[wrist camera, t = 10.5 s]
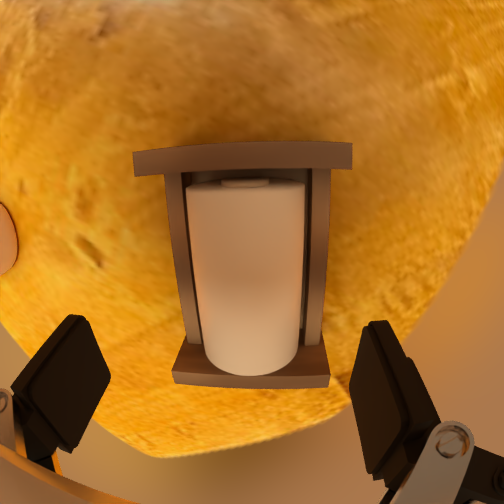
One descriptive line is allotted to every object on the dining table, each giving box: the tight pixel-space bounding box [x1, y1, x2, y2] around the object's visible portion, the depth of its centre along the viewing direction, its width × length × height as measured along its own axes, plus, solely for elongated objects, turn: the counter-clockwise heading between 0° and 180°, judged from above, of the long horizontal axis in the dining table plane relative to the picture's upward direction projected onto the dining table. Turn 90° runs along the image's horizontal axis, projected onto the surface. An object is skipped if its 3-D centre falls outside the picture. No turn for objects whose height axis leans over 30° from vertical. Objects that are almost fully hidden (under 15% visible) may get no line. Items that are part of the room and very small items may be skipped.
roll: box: [186, 177, 305, 376], centre depth 17 cm, size 10×6×6 cm, turn 2°
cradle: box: [133, 141, 352, 389], centre depth 17 cm, size 14×10×6 cm
